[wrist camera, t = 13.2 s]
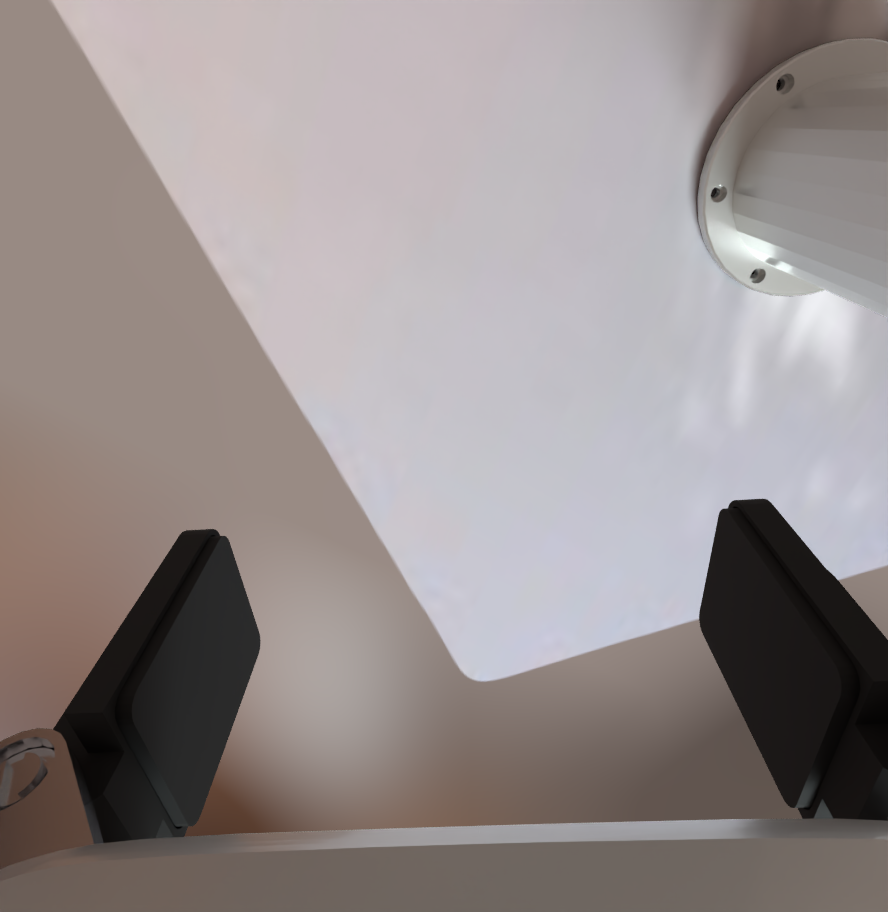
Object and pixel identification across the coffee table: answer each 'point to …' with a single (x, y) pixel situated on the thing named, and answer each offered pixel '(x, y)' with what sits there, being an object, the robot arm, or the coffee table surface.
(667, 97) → the coffee table surface
